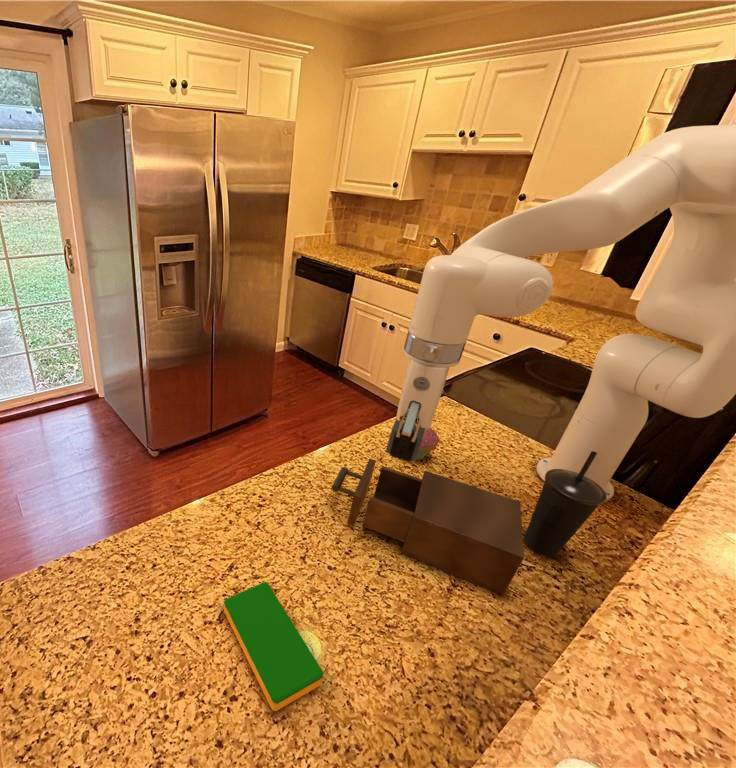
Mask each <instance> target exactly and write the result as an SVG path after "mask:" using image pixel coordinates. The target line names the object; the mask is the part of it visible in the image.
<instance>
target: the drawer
mask: <svg viewBox="0 0 736 768" xmlns="http://www.w3.org/2000/svg"><path fill="white" fill-rule="evenodd" d="M376 462H377V460H376V459H373V458H369V459H368V461H367V463H366V465H365V468H364V470H363V472H362V475H361V474H359V473H355V472H353V471H350V470H349V468H347V467H345V466H342V467H341V468H340V469H339V471H338V474H337V475H336V477H335V479H334V481H333V483H332V485H331V491H332V492H334V493H338V492H341V493H344V494H346V495H349V496H352V501H351V505H350V509H349V513H348V518H347V522H346V524H347V525H349V526H351V527H355V525H356V522H357V519H358V518H359V514H360V512H361V510H362V506H363V505H364V502H365V499H366V497H367V495H368V492H369V489H370V486H371V482H372V478H373V476H374V475H373V474H374V471H375V470H374V469H375V466H376V464H377V463H376ZM347 476H349V477H352V478H355V479H358V480H359V482H358V483H357V484H358V485H357V487H356V489H355V491H354V490H351V489H348V488H347V487H344V486H343V483H344V482H345V479H346V477H347ZM421 483H422V478H420V477H416V476H414V475H411V474H407V473H405V472H401V471H398V470H395V469H393V468H390V467H386V466H384V465H382V466H381V469H380V471H379V476H378V479H377V483H376V487H375V490H374V493H373V495H372V496H370V497H369V499H368V503H367V507H366V512H365V515H364V519H363V521H362V522H363V523H362V526H363V527H365V528H368V529H370V530H372V531H375V532H377V533H379V534H382V535H384V536H387V537H389V538H392V539H393V540H397V541H400V542H402V543H403V544H404V543H405V540H406V537H407V534H408V531H409V528H410V525H411V522H412V519H413V517H414V512H415V508H416V504H417V500H418V495H419V491H420V487H421Z"/></svg>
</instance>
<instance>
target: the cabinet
mask: <svg viewBox="0 0 736 768" xmlns="http://www.w3.org/2000/svg"><path fill="white" fill-rule="evenodd" d="M421 479H422V483H421V487H420V491H419V495H418V500H417V504H416V508H415V512H414V517H413V519H412V522H411V525H410V528H409V531H408V534H407V537H406V540H405V543H404V542H403V544H402V549H401V554H402V555H405V556H407V557H409V558H412V559H415V560H416V561H419V562H421V563H423V564H427V565H429V566H431V567H433V568H436V569H438V570H441V571H443V572H445V573H448V574H450V575H453V576H455V577H457V578H460V579H462V580H464V581H467V582H469V583H472V584H474V585H476V586H479V587H481V588H484V589H486V590H488V591H491V592H492V593H496V594H498V595H500V596H504V594H505V593H506V591H507V589H508V587H509V586H510V584H511V582H512V580H513V579H514V577H515V575H516V573H517V571H518V570H519V568H520V566H521V564H522V562H523V560H524V559H525V549H524V534H523V533H524V532H523V523H522V521H523V520H522V506H521V505H522V504H521V501H519V500H517V499H513V498H510V497H507V496H504V495H502V494H498V493H495V492H491V491H489V490H487V489H483V488H479V487H477V486H474V485H471V484H468V483H465V482H461V481H458V480H455V479H453V478H450V477H446V476H443V475H440V474H437V473H434V472H430V471H428V470H424V471H423V475H422V477H421Z"/></svg>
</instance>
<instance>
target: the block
mask: <svg viewBox="0 0 736 768" xmlns="http://www.w3.org/2000/svg"><path fill="white" fill-rule="evenodd" d="M399 424H400V421H398V420H397V418H396V417H395V421H394V422H393V425H392V428H391V431H390V434H389V437H388V441H387V446H386V450H385V453H387V454H390V451H391V447H392V443H393V440H394V436H395V433H396V434H397V431H398V428H399ZM403 428H404V425H403ZM414 430H415V427H413V430H412V431H414ZM424 431H425V428H421V425H420V427H419V430H418V433H417V436H416V440H417V443H416V446H415V449H414V452H413V455H412V458H411V461H410V462H416V461H417V460H416V457H417V454H418V451H419V448H420V445H421V441H422V438H423V435H424Z"/></svg>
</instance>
